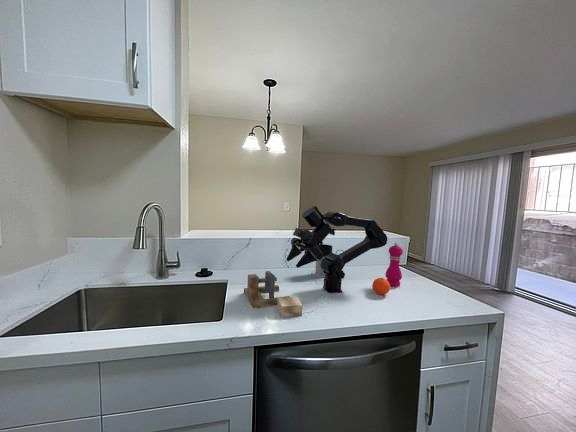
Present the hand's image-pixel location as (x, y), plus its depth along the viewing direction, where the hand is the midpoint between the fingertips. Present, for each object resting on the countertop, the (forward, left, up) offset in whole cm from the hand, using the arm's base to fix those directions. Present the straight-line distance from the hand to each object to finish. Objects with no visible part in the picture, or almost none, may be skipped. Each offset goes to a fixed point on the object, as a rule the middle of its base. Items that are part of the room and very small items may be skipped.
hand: (291, 263), depth 100 cm
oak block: (+4, +14, -13) cm, 19 cm away
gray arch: (+9, +2, -12) cm, 15 cm away
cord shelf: (+9, +2, -13) cm, 15 cm away
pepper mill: (-51, -7, -13) cm, 53 cm away
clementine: (-38, +3, -13) cm, 41 cm away
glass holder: (-25, -22, -13) cm, 36 cm away
